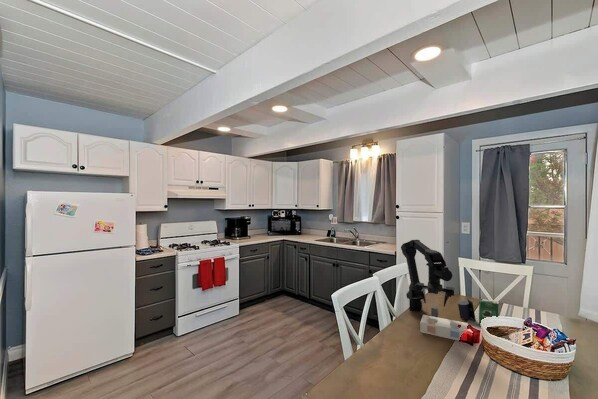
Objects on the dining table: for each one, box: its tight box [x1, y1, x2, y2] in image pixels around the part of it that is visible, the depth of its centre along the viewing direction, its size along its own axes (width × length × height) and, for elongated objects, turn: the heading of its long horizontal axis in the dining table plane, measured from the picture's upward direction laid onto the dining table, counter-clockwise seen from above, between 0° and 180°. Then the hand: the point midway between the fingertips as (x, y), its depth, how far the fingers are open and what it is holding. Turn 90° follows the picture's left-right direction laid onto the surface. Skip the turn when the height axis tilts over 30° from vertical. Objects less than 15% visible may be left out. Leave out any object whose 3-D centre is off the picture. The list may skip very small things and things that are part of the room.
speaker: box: [457, 298, 477, 322], centre depth 154 cm, size 8×6×10 cm
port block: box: [419, 314, 469, 342], centre depth 137 cm, size 20×10×5 cm, turn 58°
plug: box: [430, 305, 439, 318], centre depth 149 cm, size 3×3×8 cm
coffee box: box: [478, 299, 499, 325], centre depth 143 cm, size 8×3×13 cm, turn 70°
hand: (434, 304), depth 149 cm, fingers open, 9 cm apart
